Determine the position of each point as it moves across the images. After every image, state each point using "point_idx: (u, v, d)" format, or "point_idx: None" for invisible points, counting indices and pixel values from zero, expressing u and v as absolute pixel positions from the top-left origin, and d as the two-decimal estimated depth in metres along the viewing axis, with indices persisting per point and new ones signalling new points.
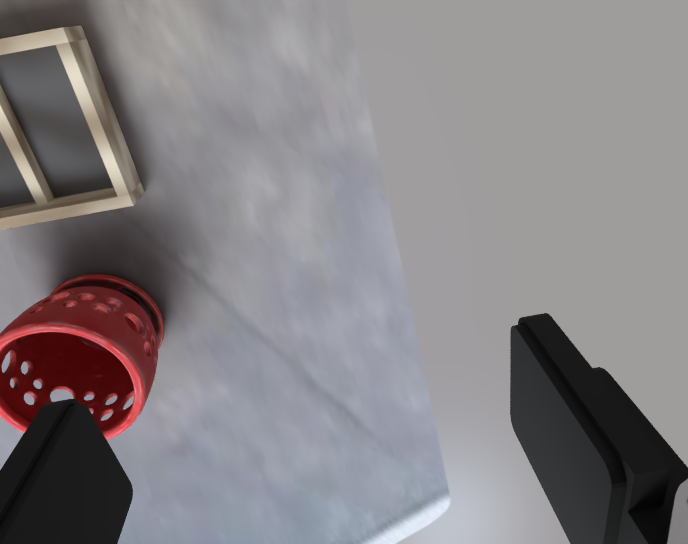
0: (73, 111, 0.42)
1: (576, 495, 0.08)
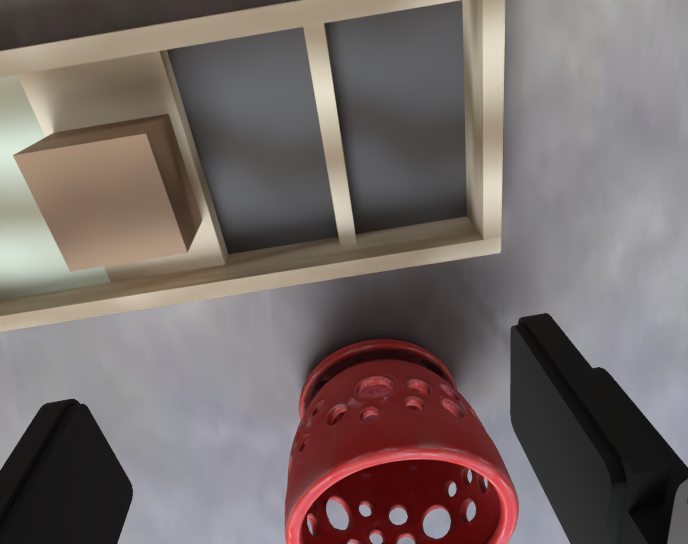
0: (424, 107, 0.27)
1: (576, 494, 0.08)
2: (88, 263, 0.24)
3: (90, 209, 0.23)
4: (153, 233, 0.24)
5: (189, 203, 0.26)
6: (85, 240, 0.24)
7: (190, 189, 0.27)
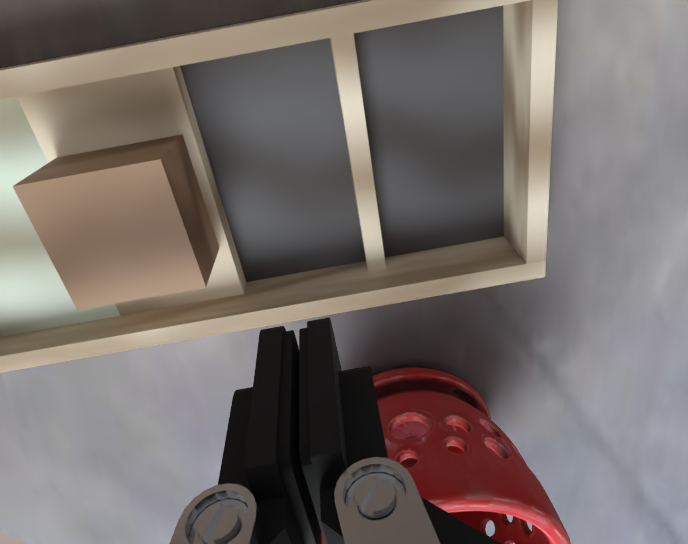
0: (460, 121, 0.25)
1: None
2: (97, 301, 0.22)
3: (98, 242, 0.21)
4: (168, 267, 0.22)
5: (206, 231, 0.24)
6: (94, 276, 0.22)
7: (206, 215, 0.24)
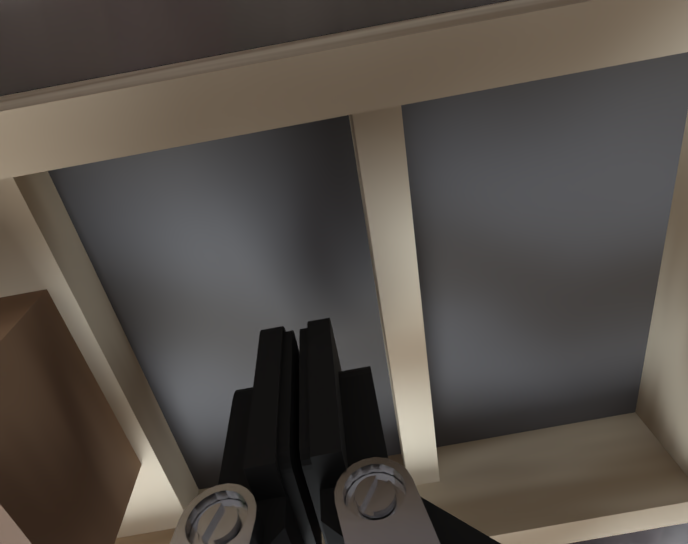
0: (586, 240, 0.13)
1: None
2: None
3: None
4: None
5: (104, 465, 0.12)
6: None
7: (109, 424, 0.13)
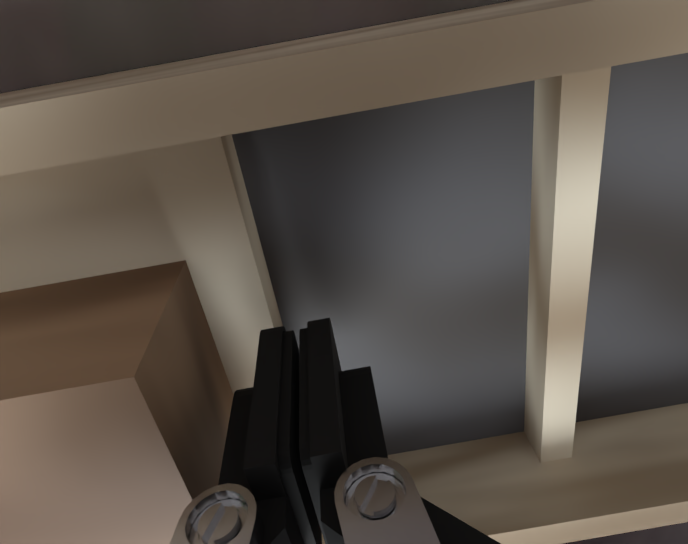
0: None
1: None
2: None
3: None
4: None
5: None
6: None
7: (230, 400, 0.13)
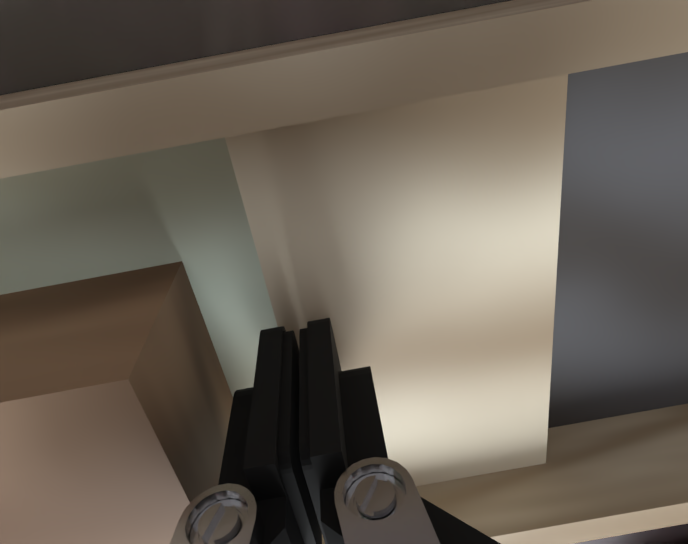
0: None
1: None
2: None
3: None
4: None
5: None
6: None
7: (228, 401, 0.13)
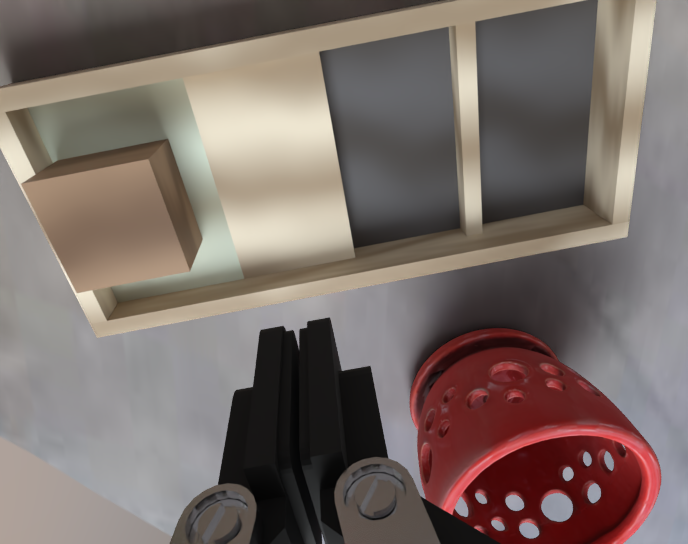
0: (553, 99, 0.28)
1: None
2: (94, 284, 0.25)
3: (95, 232, 0.24)
4: (156, 254, 0.25)
5: (190, 224, 0.27)
6: (91, 262, 0.25)
7: (190, 210, 0.28)
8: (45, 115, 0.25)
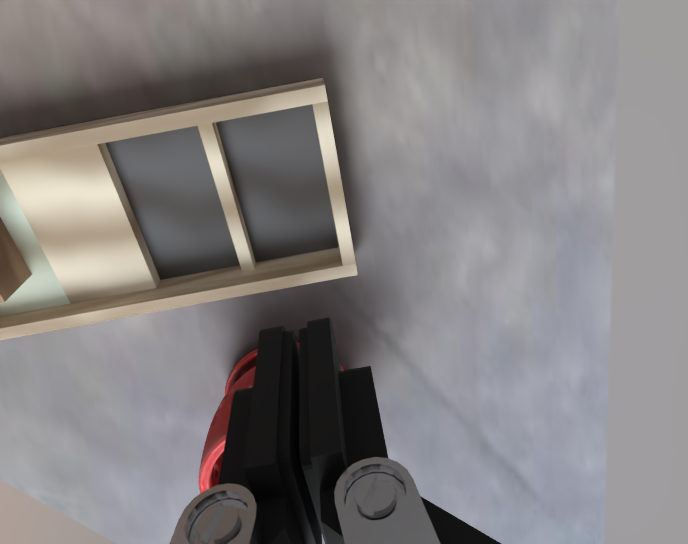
0: (295, 170, 0.37)
1: None
2: None
3: None
4: None
5: (13, 264, 0.36)
6: None
7: (16, 253, 0.37)
8: None
